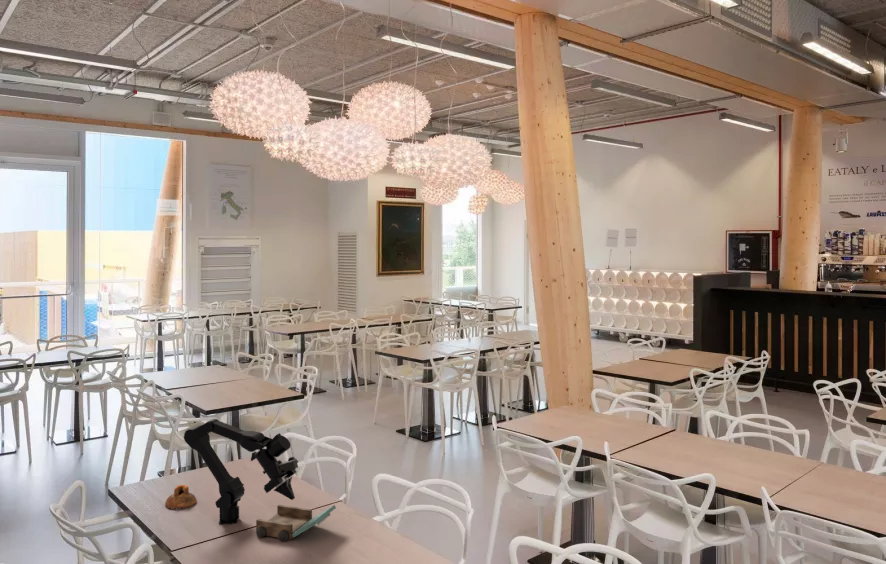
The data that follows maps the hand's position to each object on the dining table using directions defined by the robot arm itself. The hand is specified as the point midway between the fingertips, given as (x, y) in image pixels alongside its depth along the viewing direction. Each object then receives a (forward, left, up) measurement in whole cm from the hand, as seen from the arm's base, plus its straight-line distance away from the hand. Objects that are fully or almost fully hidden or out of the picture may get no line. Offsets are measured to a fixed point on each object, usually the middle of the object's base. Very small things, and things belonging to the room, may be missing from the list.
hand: (293, 499), depth 240 cm
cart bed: (-3, 0, -11) cm, 12 cm away
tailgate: (+4, -4, -10) cm, 11 cm away
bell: (-44, +32, -12) cm, 56 cm away
